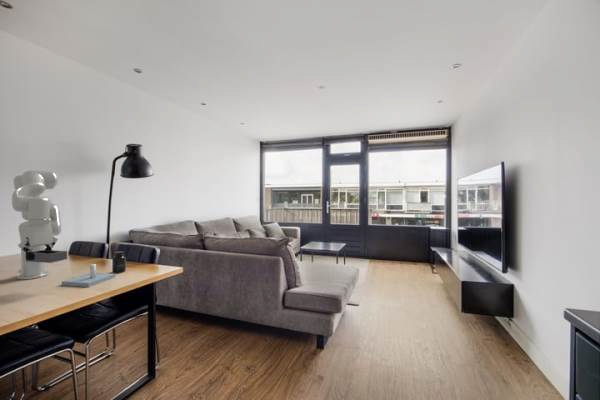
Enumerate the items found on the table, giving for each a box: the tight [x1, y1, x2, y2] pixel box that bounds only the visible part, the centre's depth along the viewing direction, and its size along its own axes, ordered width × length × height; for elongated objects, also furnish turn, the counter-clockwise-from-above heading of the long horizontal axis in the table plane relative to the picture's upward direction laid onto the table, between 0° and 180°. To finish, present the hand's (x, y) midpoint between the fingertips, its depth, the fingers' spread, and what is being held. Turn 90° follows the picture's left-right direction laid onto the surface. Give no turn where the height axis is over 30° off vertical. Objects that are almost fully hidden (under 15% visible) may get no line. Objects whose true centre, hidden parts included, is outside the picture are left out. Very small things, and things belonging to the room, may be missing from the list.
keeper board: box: [61, 263, 117, 288], centre depth 142 cm, size 16×16×9 cm
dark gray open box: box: [26, 249, 68, 264], centre depth 129 cm, size 14×8×4 cm, turn 82°
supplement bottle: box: [111, 251, 127, 274], centre depth 160 cm, size 7×7×12 cm
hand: (39, 257), depth 130 cm, fingers closed on dark gray open box, 7 cm apart
